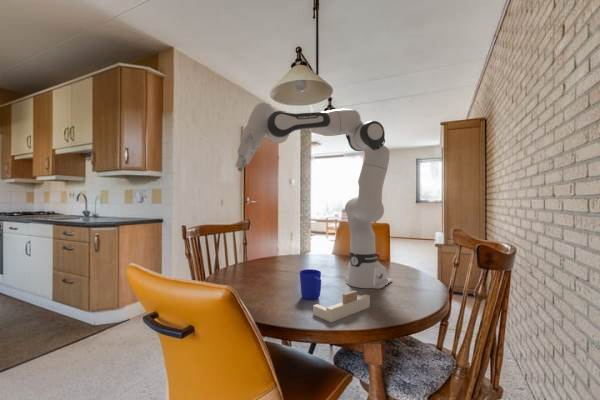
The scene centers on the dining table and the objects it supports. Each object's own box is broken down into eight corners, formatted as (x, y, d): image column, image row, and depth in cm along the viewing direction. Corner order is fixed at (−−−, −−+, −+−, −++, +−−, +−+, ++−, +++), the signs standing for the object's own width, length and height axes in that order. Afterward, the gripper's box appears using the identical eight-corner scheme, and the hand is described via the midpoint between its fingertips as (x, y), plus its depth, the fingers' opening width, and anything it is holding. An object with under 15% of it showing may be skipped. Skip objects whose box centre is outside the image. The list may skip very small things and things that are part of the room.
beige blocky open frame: (351, 300, 110) (352, 282, 109) (369, 307, 103) (369, 287, 103) (313, 314, 96) (313, 293, 96) (330, 322, 90) (330, 299, 90)
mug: (309, 306, 104) (309, 278, 104) (296, 295, 115) (296, 270, 115) (329, 302, 107) (329, 275, 107) (314, 293, 118) (315, 268, 118)
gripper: (258, 135, 112) (244, 167, 111) (258, 148, 132) (246, 175, 131) (242, 128, 111) (228, 161, 110) (245, 142, 132) (233, 170, 130)
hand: (238, 169), depth 121 cm, fingers open, 8 cm apart
